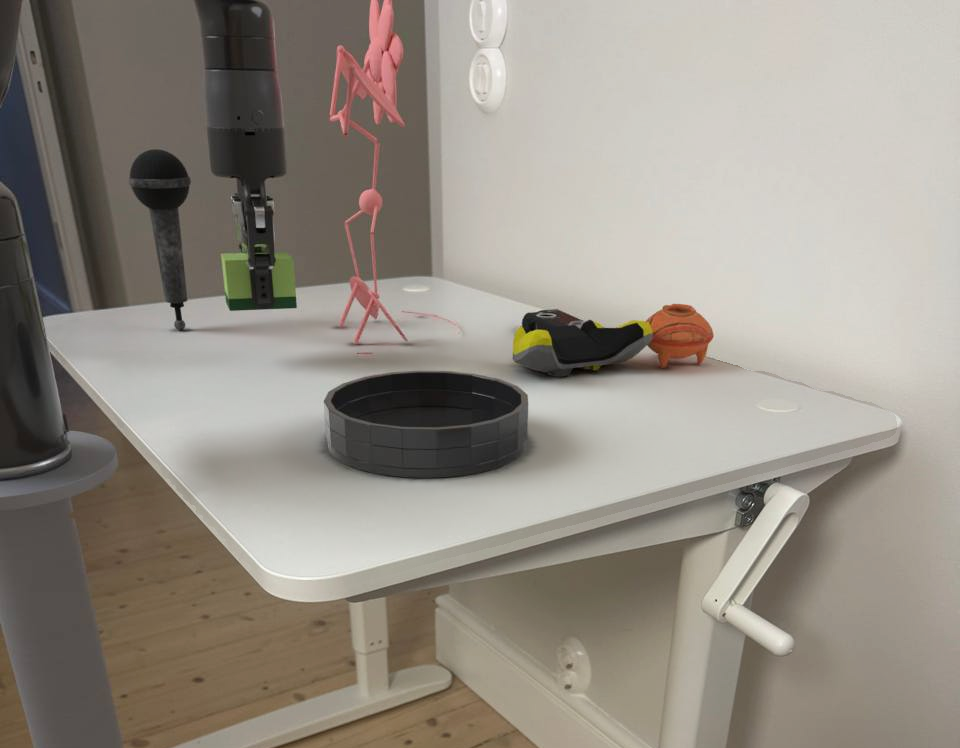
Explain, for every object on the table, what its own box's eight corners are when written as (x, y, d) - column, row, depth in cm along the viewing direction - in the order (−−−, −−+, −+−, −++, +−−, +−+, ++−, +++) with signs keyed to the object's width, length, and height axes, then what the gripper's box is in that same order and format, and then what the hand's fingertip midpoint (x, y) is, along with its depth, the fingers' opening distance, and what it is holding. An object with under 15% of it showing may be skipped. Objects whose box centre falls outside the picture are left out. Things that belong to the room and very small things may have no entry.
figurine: (362, 362, 109) (342, -18, 91) (320, 314, 130) (298, -2, 112) (493, 353, 113) (499, -13, 95) (432, 307, 134) (428, 1, 117)
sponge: (229, 311, 103) (224, 260, 101) (226, 302, 107) (220, 253, 104) (296, 308, 105) (293, 258, 102) (291, 300, 109) (287, 252, 106)
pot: (705, 351, 113) (716, 294, 109) (708, 385, 108) (719, 327, 103) (635, 346, 114) (643, 289, 109) (635, 379, 108) (642, 321, 104)
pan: (347, 487, 76) (344, 437, 74) (314, 421, 91) (310, 377, 89) (555, 466, 81) (557, 419, 79) (492, 406, 95) (493, 365, 93)
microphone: (139, 332, 120) (110, 149, 110) (177, 321, 125) (152, 146, 115) (184, 339, 117) (158, 152, 107) (220, 327, 123) (199, 148, 113)
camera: (548, 325, 114) (514, 308, 123) (549, 349, 116) (515, 331, 125) (598, 317, 116) (560, 301, 125) (598, 341, 117) (561, 323, 126)
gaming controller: (656, 374, 106) (608, 353, 113) (662, 322, 103) (612, 303, 111) (532, 390, 100) (490, 366, 108) (534, 334, 97) (491, 314, 105)
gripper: (201, 120, 102) (219, 292, 111) (211, 125, 90) (231, 318, 99) (274, 120, 104) (287, 289, 113) (293, 126, 92) (306, 315, 101)
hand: (261, 302), depth 106 cm, fingers closed on sponge, 4 cm apart
